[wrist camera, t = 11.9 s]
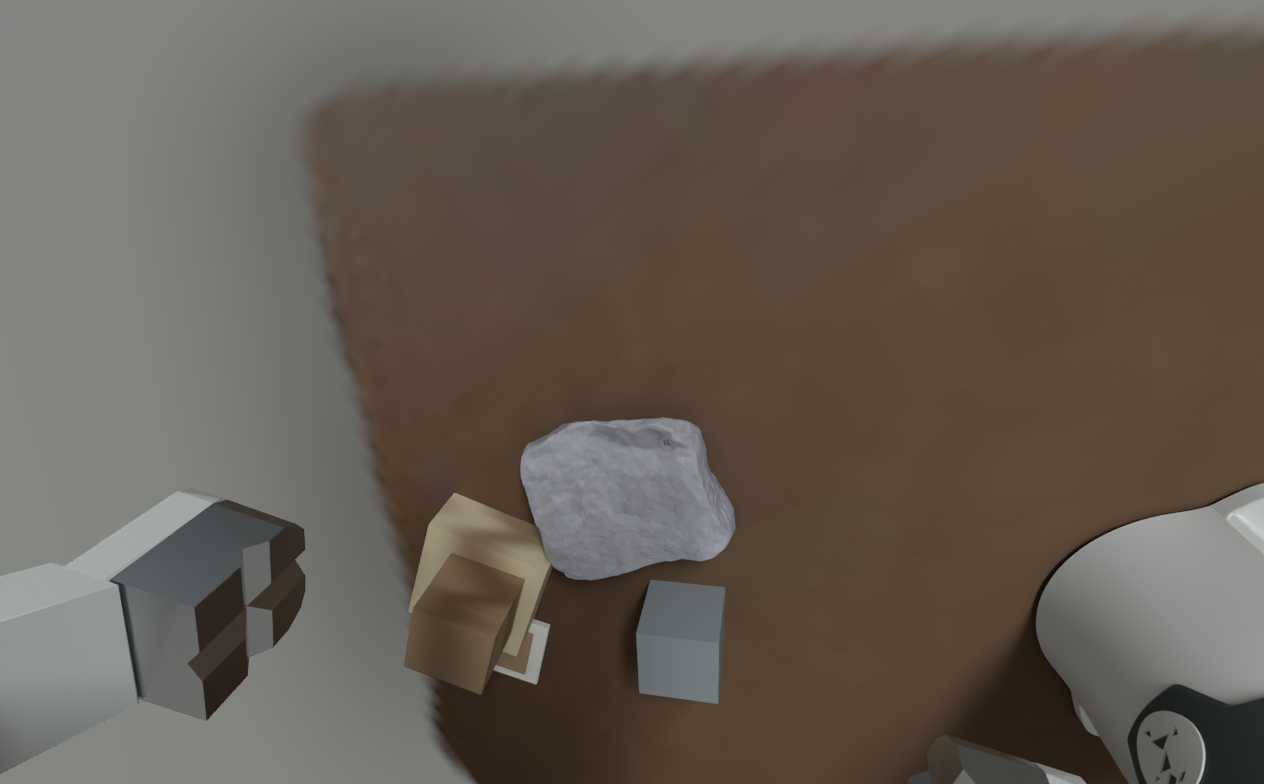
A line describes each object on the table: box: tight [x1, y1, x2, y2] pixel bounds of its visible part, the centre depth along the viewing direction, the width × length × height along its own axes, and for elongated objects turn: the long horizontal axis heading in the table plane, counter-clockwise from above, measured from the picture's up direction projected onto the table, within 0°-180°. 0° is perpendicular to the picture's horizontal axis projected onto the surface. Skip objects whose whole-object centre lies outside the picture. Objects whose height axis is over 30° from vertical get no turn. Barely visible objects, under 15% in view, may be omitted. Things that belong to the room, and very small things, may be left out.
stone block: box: [520, 417, 735, 581], centre depth 41 cm, size 12×5×10 cm
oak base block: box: [408, 493, 553, 657], centre depth 46 cm, size 8×8×4 cm
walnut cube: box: [404, 553, 525, 695], centre depth 41 cm, size 5×5×5 cm
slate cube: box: [636, 580, 725, 704], centre depth 43 cm, size 5×5×5 cm
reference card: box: [493, 619, 550, 684], centre depth 50 cm, size 6×6×1 cm
